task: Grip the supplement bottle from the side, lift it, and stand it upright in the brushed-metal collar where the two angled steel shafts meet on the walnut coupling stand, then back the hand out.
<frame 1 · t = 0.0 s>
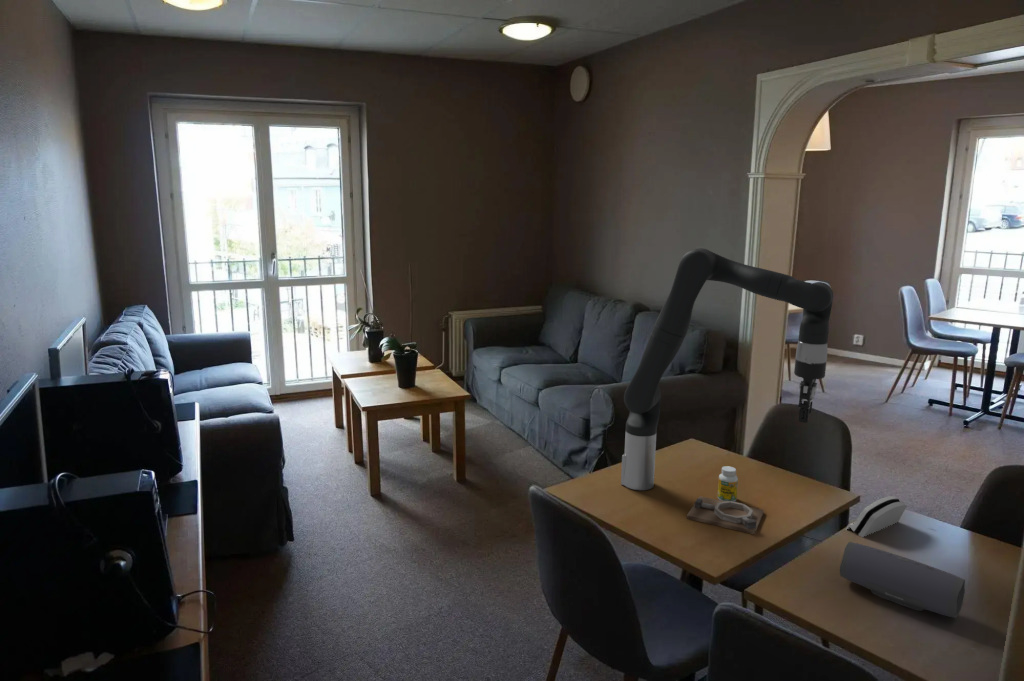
hand: (804, 417, 182), 29 cm above the table, tool pointing down, fingers open, 8 cm apart
bluetooth speaker: (897, 600, 151), on the table
supplement bottle: (726, 499, 200), on the table
white two-tone part: (876, 529, 183), on the table
coupling stand: (725, 515, 190), on the table
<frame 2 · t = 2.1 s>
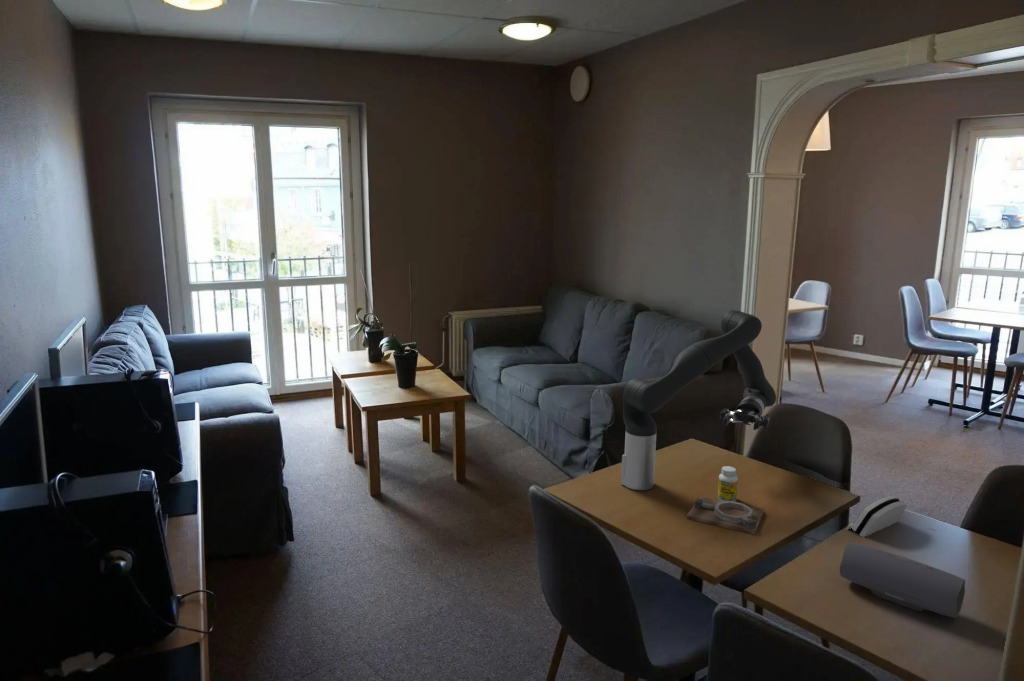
hand: (740, 424, 206), 19 cm above the table, tool horizontal, fingers open, 8 cm apart
nothing on the table moved.
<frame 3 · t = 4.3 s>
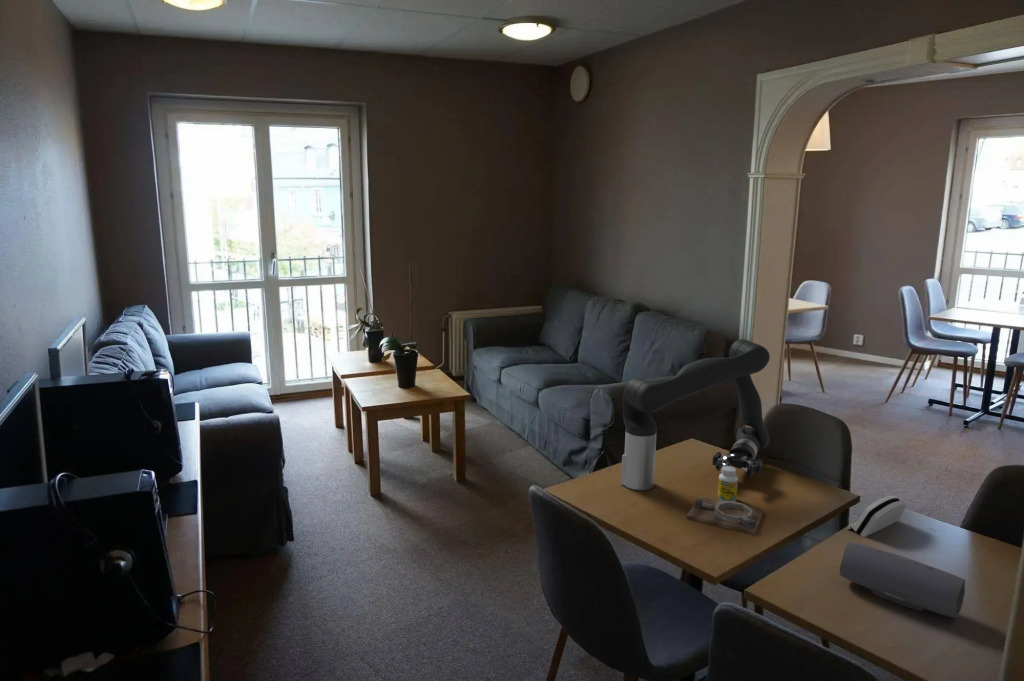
hand: (732, 470, 204), 6 cm above the table, tool horizontal, fingers open, 8 cm apart
nothing on the table moved.
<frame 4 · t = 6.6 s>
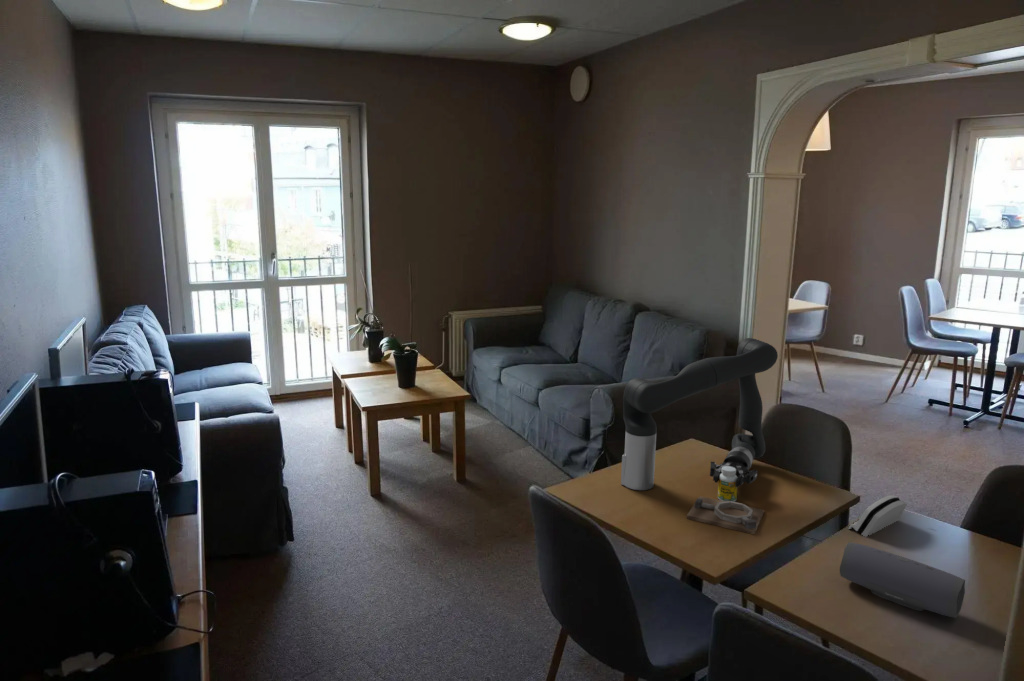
hand: (726, 481, 197), 7 cm above the table, tool horizontal, fingers closed on supplement bottle, 5 cm apart
supplement bottle: (726, 499, 200), on the table, touching gripper
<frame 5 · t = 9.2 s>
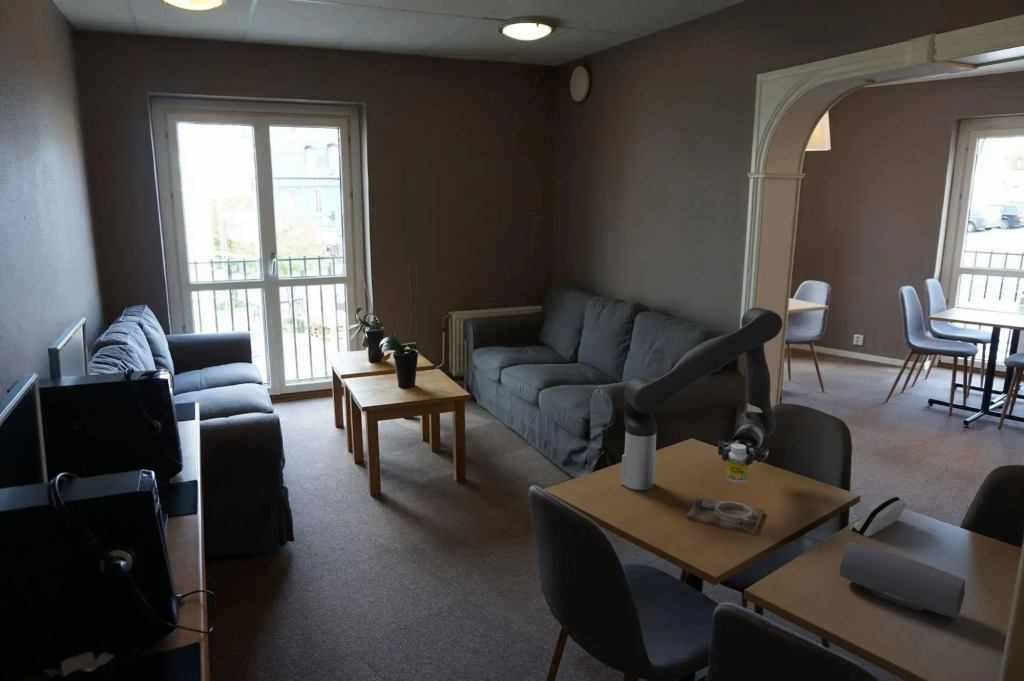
hand: (736, 459, 183), 18 cm above the table, tool horizontal, fingers closed on supplement bottle, 5 cm apart
supplement bottle: (736, 479, 187), point 11 cm above the table, touching gripper
when the fingers open (9 cm above the table, at t = 11.8 s): supplement bottle drops 2 cm, resting on coupling stand.
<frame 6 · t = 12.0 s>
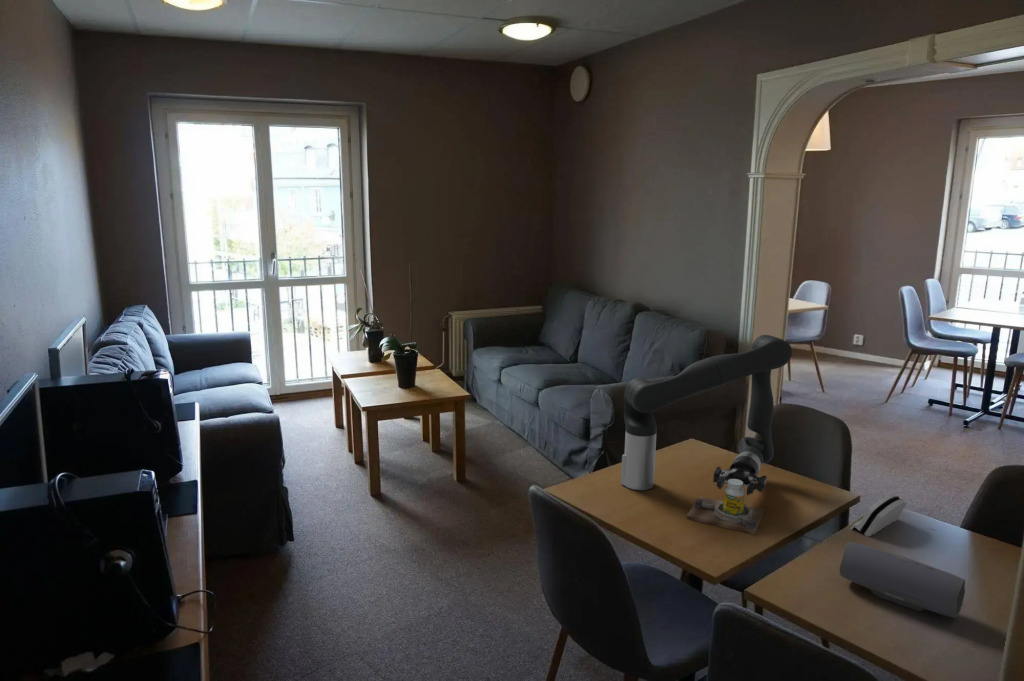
hand: (733, 488, 185), 9 cm above the table, tool horizontal, fingers open, 7 cm apart
supplement bottle: (732, 514, 189), point 1 cm above the table, touching coupling stand
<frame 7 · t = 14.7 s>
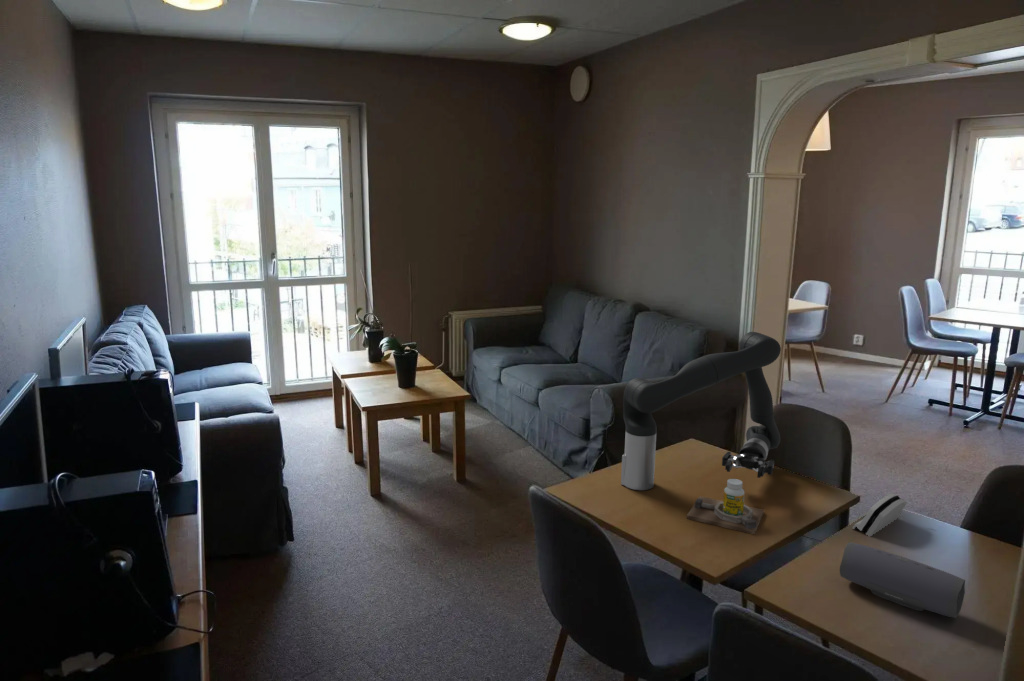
hand: (743, 471, 196), 10 cm above the table, tool horizontal, fingers open, 8 cm apart
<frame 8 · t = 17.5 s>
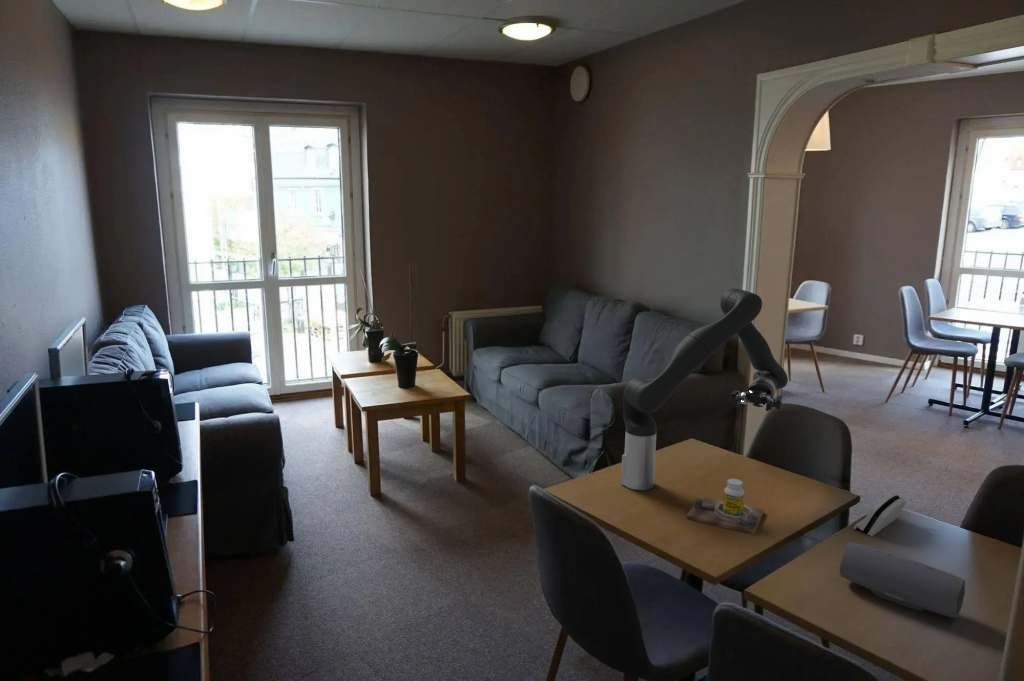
hand: (751, 405, 197), 28 cm above the table, tool horizontal, fingers open, 8 cm apart
at the end: supplement bottle 0.2 cm from the target spot on the coupling stand, point 0.8 cm above the coupling stand's base; supplement bottle tilted 0°; the gripper is holding nothing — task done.
